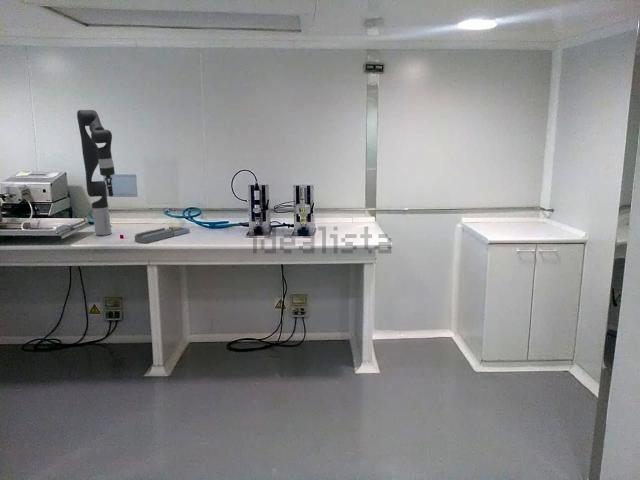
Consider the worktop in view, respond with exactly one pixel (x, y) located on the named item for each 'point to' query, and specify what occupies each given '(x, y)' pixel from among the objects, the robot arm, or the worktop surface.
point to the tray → (181, 231)
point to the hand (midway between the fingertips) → (111, 194)
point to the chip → (173, 228)
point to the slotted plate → (153, 235)
